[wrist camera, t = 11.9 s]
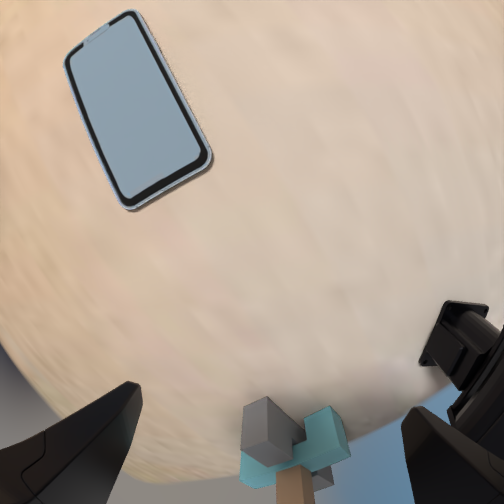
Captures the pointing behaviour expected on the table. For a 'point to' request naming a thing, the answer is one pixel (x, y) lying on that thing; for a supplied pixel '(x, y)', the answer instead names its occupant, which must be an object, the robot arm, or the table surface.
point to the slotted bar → (275, 438)
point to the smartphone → (134, 111)
